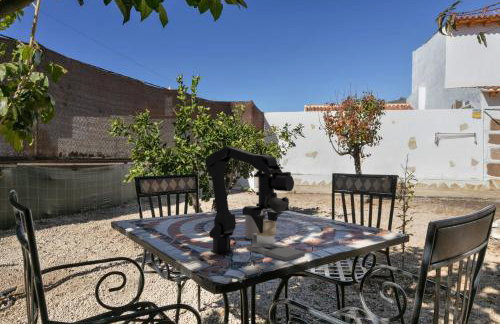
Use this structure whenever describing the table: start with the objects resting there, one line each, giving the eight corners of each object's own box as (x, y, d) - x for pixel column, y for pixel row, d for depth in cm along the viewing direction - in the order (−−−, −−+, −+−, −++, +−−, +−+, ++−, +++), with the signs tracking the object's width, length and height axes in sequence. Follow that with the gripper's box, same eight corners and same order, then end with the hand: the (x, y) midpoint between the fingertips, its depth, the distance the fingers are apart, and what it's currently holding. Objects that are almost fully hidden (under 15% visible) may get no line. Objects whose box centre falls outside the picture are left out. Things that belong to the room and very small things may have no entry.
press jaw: (257, 247, 145) (256, 235, 145) (252, 246, 147) (252, 233, 147) (274, 243, 152) (274, 231, 152) (269, 241, 154) (269, 230, 154)
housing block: (266, 237, 129) (266, 223, 129) (256, 234, 133) (256, 221, 132) (276, 235, 132) (276, 221, 132) (266, 232, 136) (266, 219, 136)
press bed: (285, 261, 133) (285, 256, 133) (245, 249, 150) (245, 245, 150) (304, 255, 140) (304, 251, 140) (264, 244, 157) (264, 240, 157)
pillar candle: (255, 234, 178) (255, 203, 177) (270, 237, 171) (269, 205, 170) (241, 237, 171) (240, 206, 171) (255, 241, 164) (255, 208, 164)
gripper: (262, 193, 120) (263, 240, 120) (299, 189, 132) (299, 231, 132) (241, 191, 128) (241, 234, 128) (277, 187, 140) (278, 227, 141)
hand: (266, 232), depth 132 cm, fingers closed on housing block, 5 cm apart
